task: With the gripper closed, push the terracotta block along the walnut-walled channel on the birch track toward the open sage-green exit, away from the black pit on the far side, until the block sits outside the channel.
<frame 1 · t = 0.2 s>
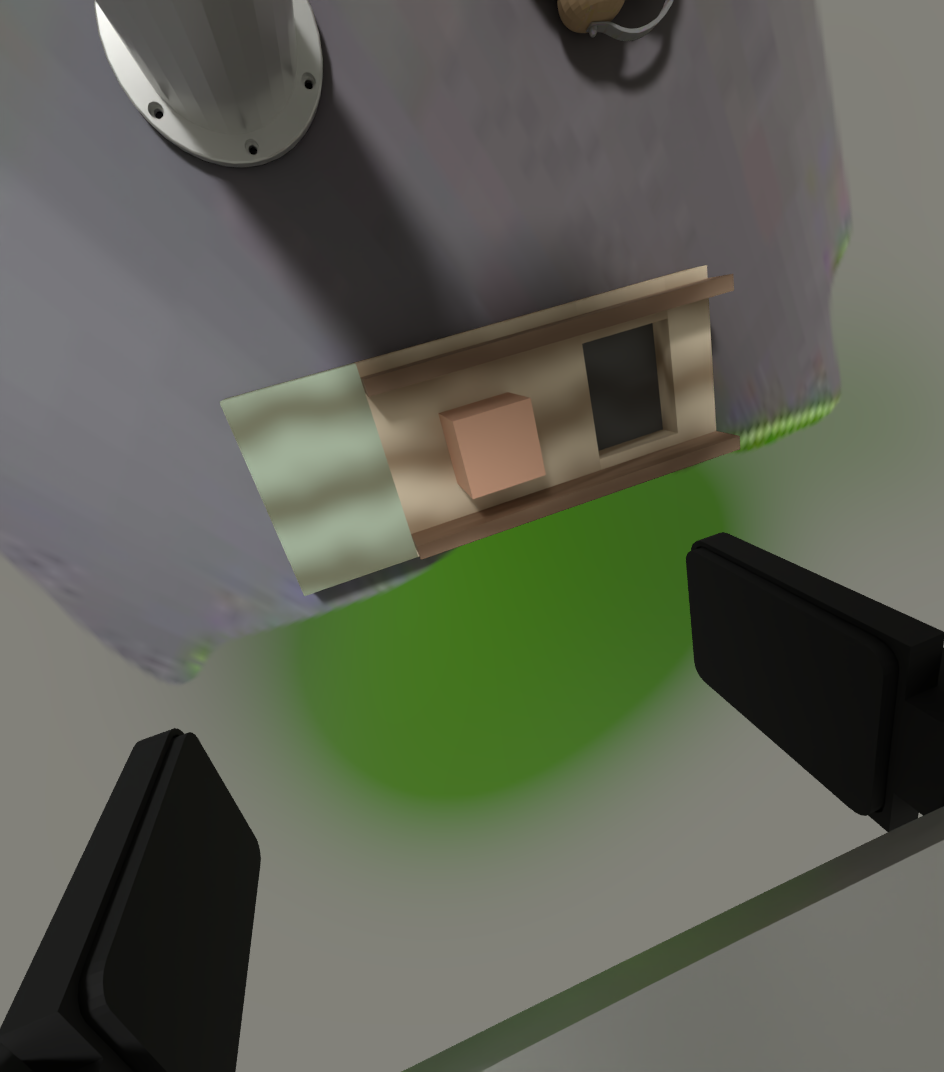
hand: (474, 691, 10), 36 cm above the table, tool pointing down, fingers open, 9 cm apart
block: (482, 438, 43), point 2 cm above the table, touching track
track: (495, 427, 46), on the table
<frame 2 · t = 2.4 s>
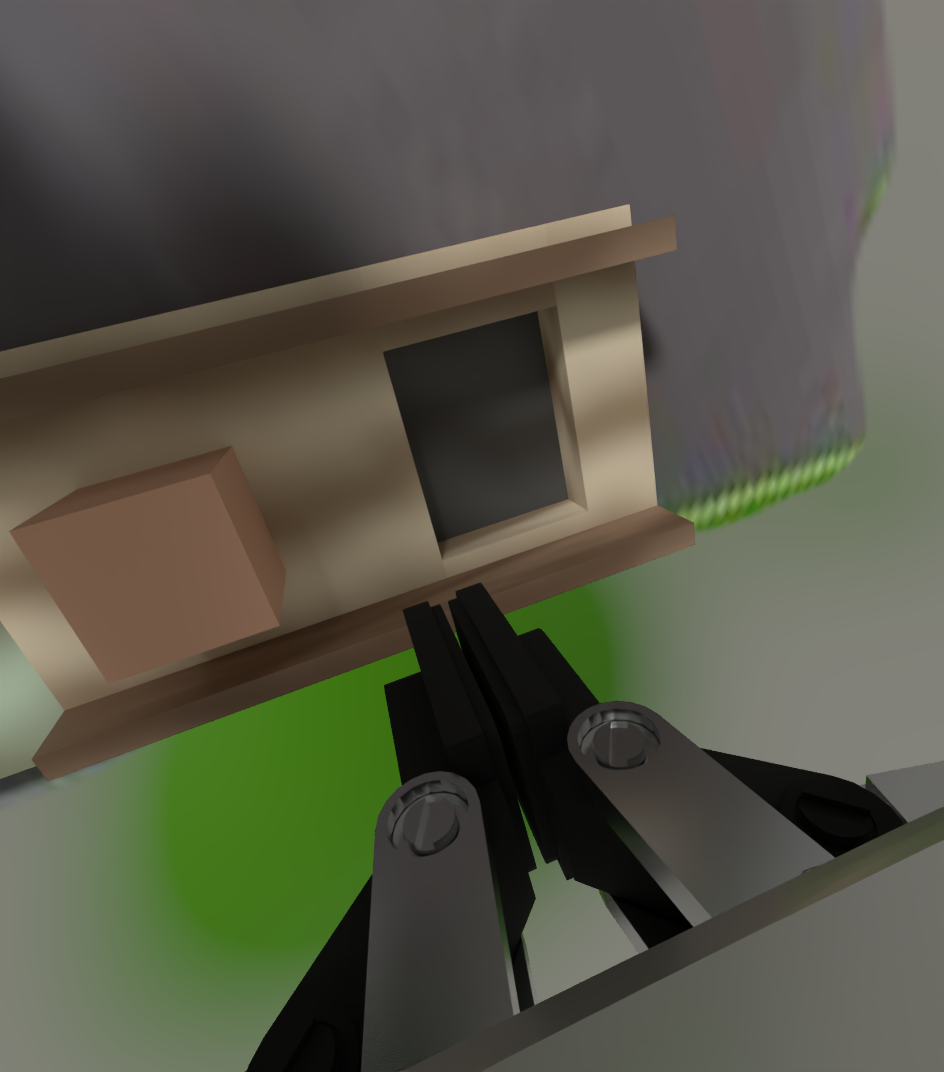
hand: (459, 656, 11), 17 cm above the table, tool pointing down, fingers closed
block: (189, 533, 22), point 2 cm above the table, touching track
track: (244, 502, 25), on the table
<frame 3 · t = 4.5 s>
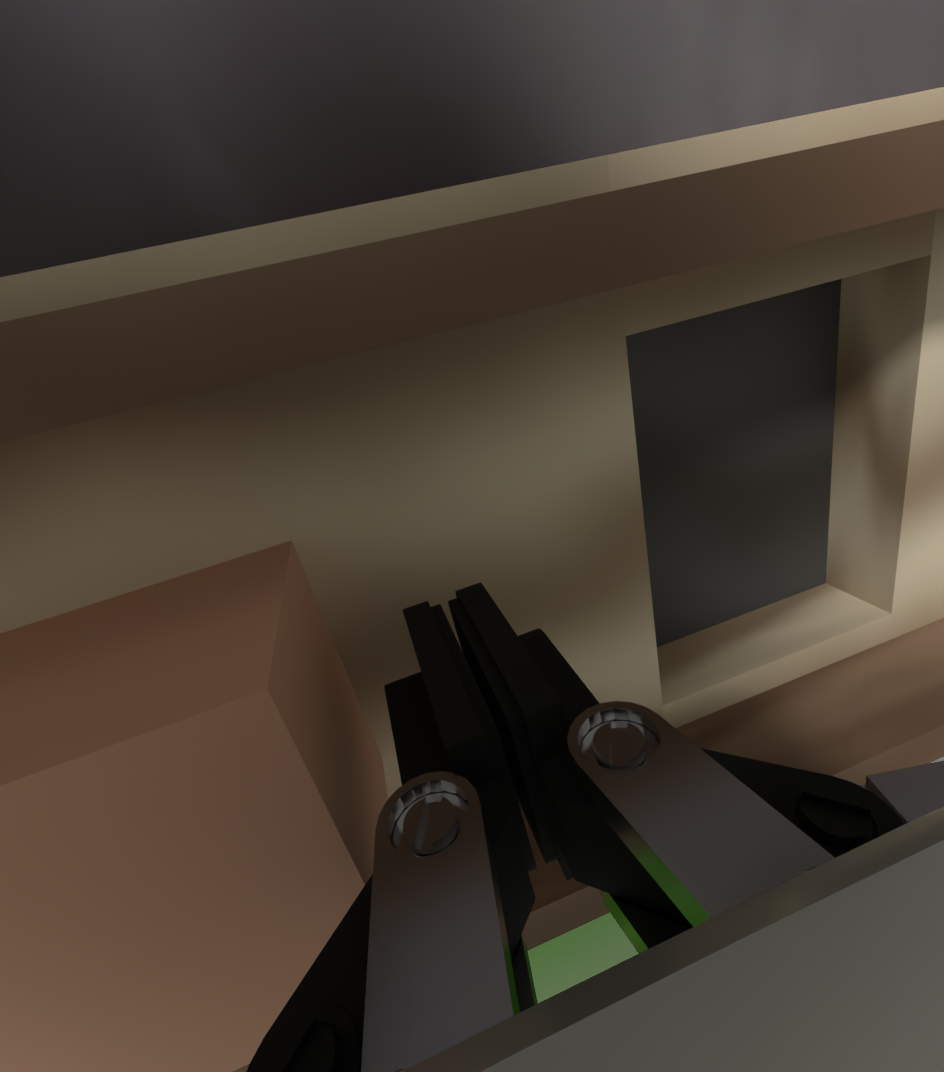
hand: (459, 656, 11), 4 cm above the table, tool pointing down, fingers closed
block: (204, 709, 11), point 3 cm above the table, touching gripper, track
track: (324, 608, 14), on the table
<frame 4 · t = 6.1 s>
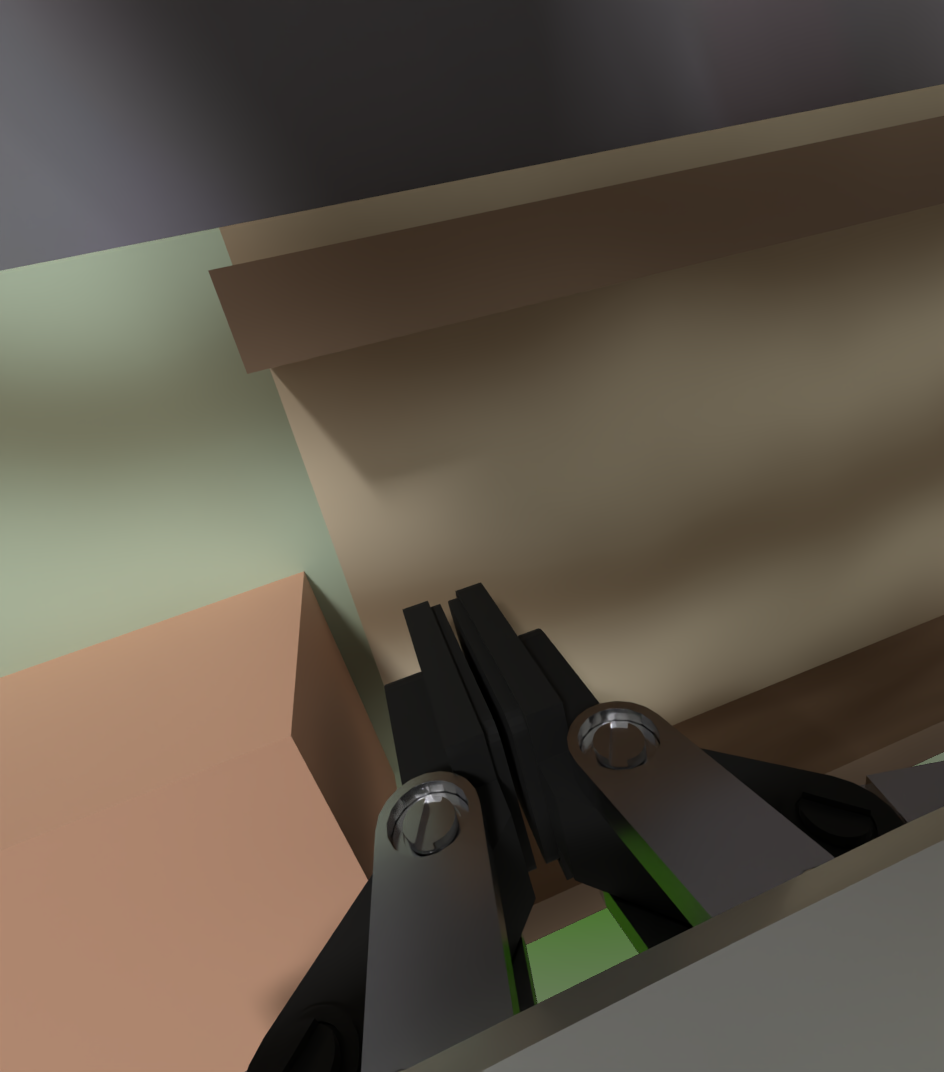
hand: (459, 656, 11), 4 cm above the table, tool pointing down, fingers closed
block: (222, 734, 11), point 2 cm above the table, touching gripper, track
track: (686, 486, 16), on the table
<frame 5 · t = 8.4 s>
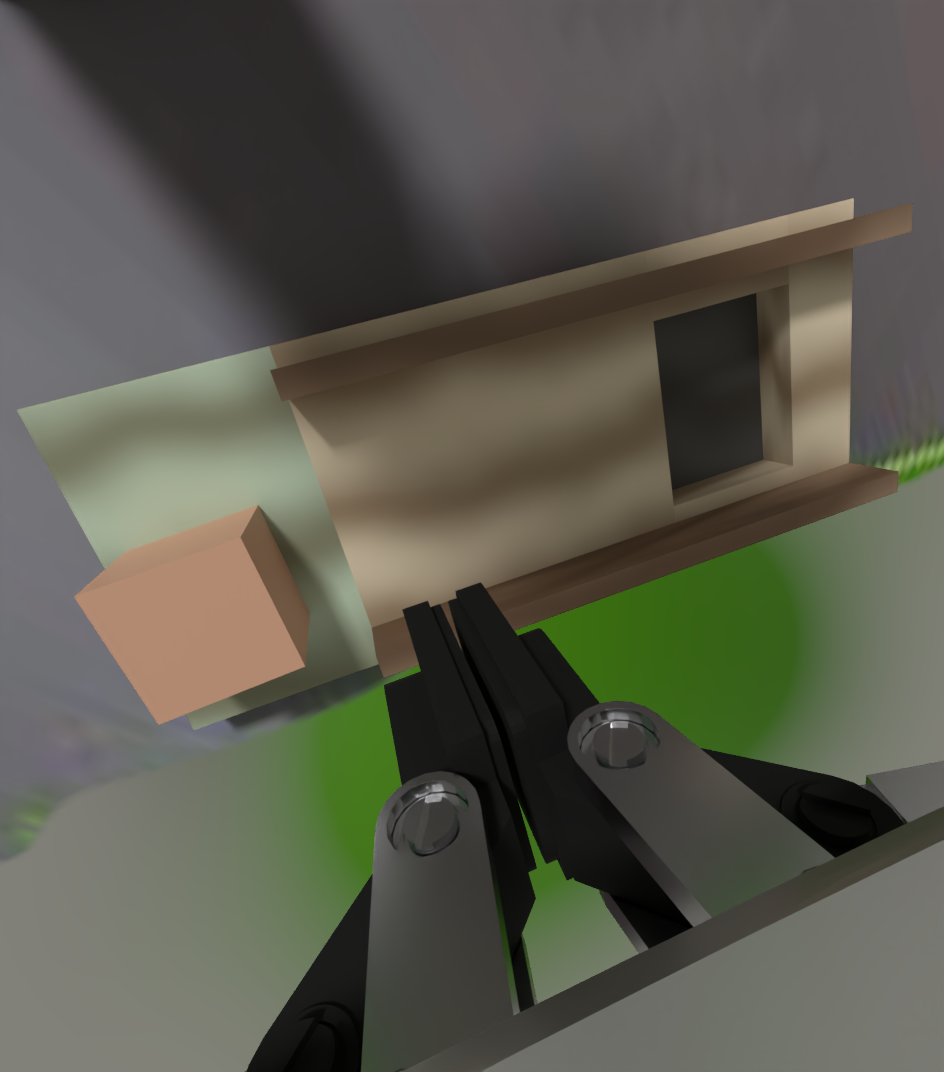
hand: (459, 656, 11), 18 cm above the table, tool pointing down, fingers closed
block: (223, 584, 25), point 2 cm above the table, touching track
track: (510, 455, 29), on the table
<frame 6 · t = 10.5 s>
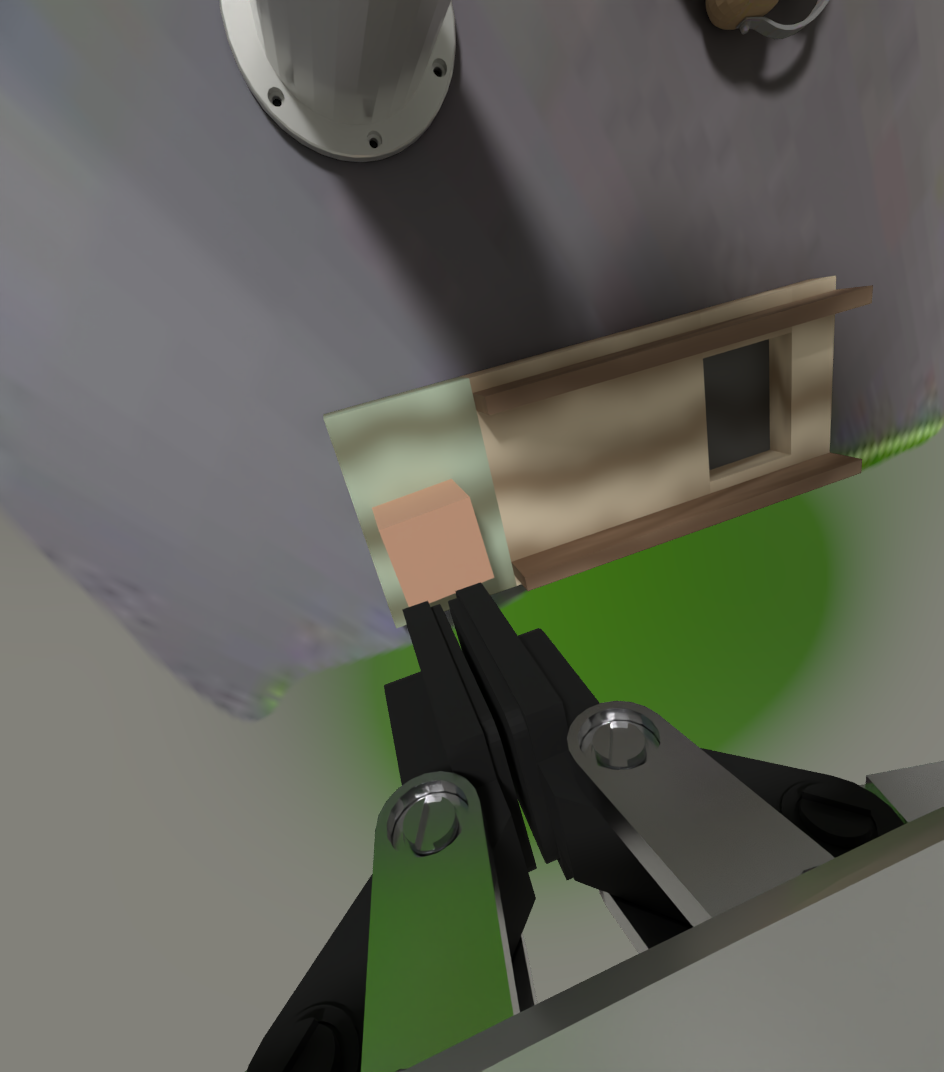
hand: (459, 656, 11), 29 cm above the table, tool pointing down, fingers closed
block: (425, 530, 38), point 2 cm above the table, touching track
track: (600, 446, 42), on the table
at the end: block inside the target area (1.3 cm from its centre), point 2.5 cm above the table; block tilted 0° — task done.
